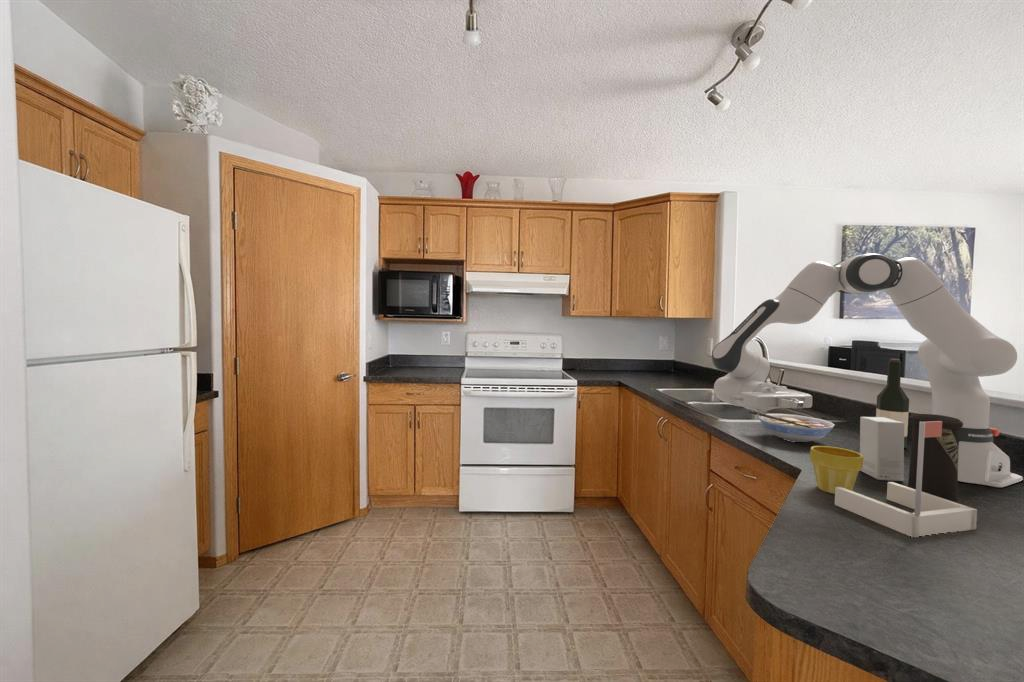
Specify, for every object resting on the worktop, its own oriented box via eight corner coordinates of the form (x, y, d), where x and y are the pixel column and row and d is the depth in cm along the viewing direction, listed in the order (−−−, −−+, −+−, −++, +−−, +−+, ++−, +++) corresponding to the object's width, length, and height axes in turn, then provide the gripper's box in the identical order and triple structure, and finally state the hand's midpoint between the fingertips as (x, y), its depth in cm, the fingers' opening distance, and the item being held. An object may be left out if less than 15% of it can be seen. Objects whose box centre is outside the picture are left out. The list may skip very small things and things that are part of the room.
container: (949, 509, 96) (954, 420, 95) (898, 495, 104) (903, 412, 103) (965, 502, 100) (970, 417, 99) (915, 489, 108) (919, 410, 107)
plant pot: (838, 482, 112) (840, 445, 111) (872, 498, 101) (875, 457, 101) (799, 482, 111) (800, 444, 111) (829, 498, 101) (831, 457, 101)
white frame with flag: (891, 498, 102) (896, 405, 101) (976, 529, 87) (982, 420, 86) (834, 504, 98) (839, 407, 97) (912, 537, 83) (919, 423, 82)
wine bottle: (913, 449, 145) (918, 360, 144) (888, 449, 145) (893, 359, 144) (892, 442, 153) (896, 358, 152) (868, 442, 153) (872, 357, 152)
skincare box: (904, 482, 113) (907, 423, 113) (875, 480, 114) (878, 421, 114) (883, 471, 121) (886, 416, 121) (856, 469, 123) (859, 415, 122)
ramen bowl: (854, 449, 144) (855, 424, 144) (797, 452, 139) (798, 426, 139) (791, 430, 169) (792, 410, 168) (740, 432, 164) (741, 411, 163)
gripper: (730, 386, 126) (768, 393, 113) (787, 385, 131) (830, 393, 118) (729, 407, 127) (767, 417, 113) (786, 406, 132) (829, 416, 118)
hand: (800, 405), depth 116 cm, fingers closed
